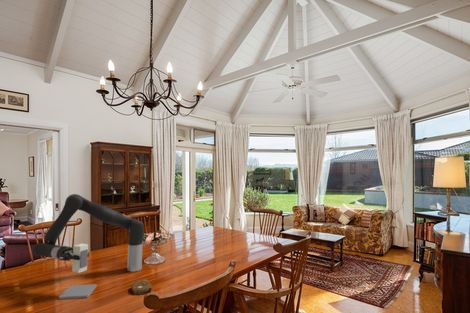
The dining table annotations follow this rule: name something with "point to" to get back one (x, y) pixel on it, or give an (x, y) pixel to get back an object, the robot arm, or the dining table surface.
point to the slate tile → (78, 291)
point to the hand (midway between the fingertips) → (83, 256)
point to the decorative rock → (141, 286)
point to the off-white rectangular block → (82, 263)
